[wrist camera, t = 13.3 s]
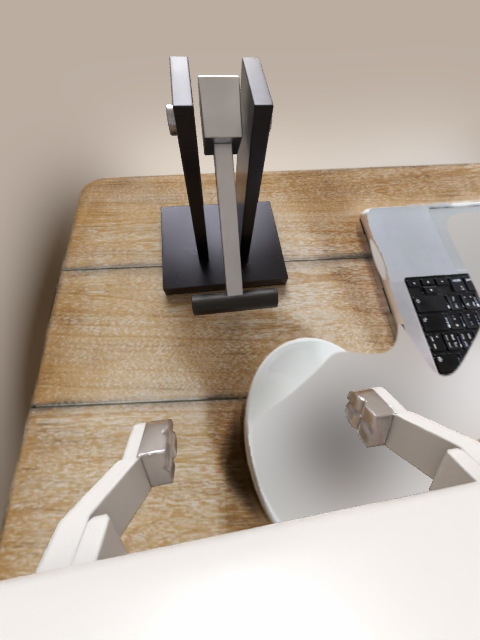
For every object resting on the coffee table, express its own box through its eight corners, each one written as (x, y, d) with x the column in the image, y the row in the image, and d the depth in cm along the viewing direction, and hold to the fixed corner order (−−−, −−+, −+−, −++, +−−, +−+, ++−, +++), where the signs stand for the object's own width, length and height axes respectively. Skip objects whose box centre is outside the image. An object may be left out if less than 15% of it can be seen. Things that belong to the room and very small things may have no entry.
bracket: (285, 284, 24) (356, 140, 11) (166, 295, 23) (90, 147, 10) (267, 209, 27) (306, 33, 14) (163, 215, 26) (104, 28, 13)
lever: (271, 303, 18) (280, 310, 16) (195, 311, 18) (193, 319, 16) (263, 103, 15) (273, 75, 13) (168, 104, 14) (160, 74, 12)
